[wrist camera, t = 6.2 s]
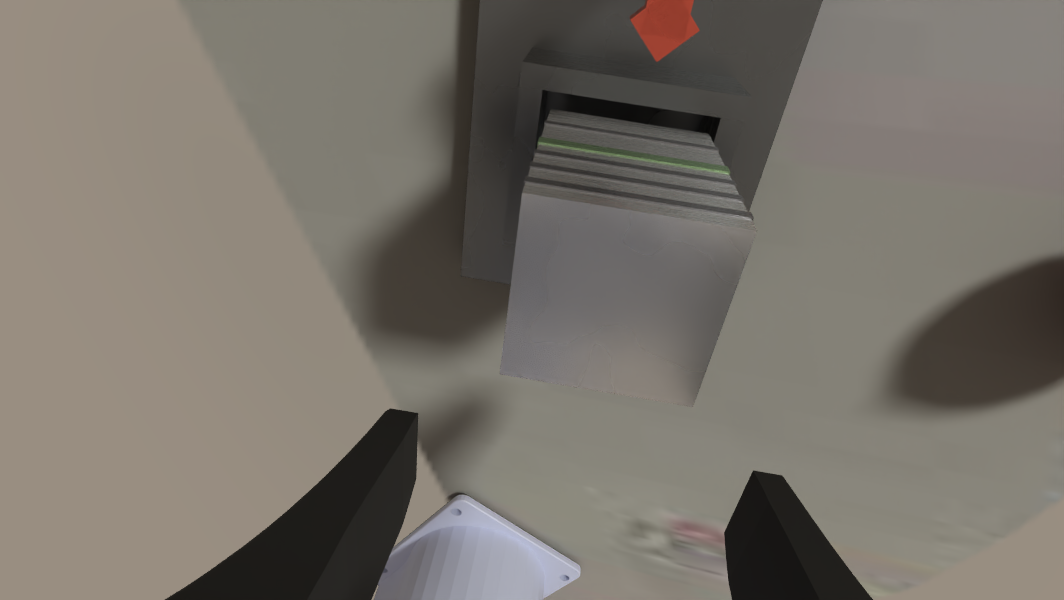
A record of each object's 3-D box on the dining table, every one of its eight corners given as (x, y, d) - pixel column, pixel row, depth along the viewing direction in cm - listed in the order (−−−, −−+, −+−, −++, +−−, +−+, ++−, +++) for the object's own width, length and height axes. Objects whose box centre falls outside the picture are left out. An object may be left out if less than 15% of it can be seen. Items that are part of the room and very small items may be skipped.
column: (670, 272, 17) (693, 408, 12) (529, 249, 17) (498, 374, 12) (710, 133, 15) (759, 229, 10) (549, 107, 15) (520, 190, 10)
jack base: (706, 300, 22) (750, 463, 15) (467, 260, 22) (404, 404, 15) (852, -132, 15) (1055, -188, 8) (500, -182, 15) (412, -276, 8)
